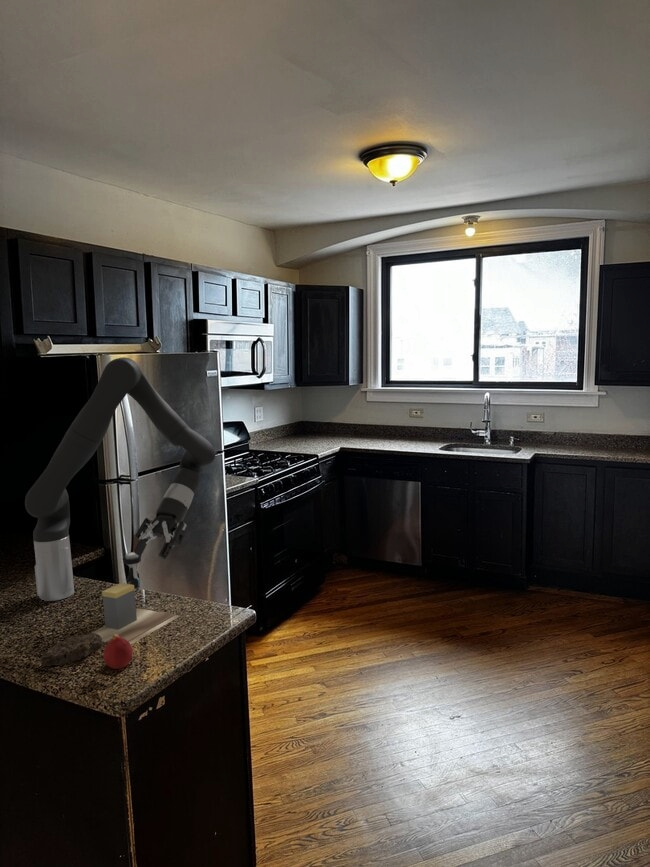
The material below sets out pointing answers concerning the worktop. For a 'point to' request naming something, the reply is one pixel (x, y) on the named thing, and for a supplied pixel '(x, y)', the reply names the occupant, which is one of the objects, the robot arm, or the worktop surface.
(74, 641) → the concrete sample
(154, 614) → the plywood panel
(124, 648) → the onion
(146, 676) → the worktop surface
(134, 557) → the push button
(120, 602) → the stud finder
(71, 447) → the robot arm
